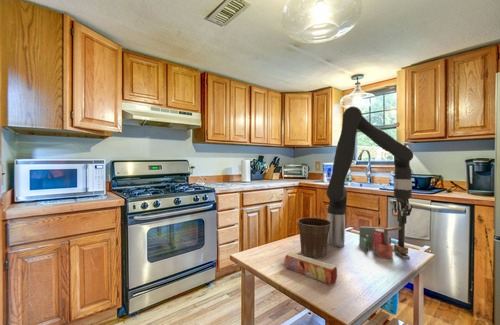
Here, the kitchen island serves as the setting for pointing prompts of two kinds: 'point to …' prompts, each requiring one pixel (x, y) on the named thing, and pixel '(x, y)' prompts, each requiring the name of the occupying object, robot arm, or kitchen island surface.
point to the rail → (401, 254)
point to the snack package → (311, 268)
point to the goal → (367, 237)
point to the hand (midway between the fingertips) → (401, 222)
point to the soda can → (378, 239)
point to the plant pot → (314, 236)
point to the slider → (387, 249)
